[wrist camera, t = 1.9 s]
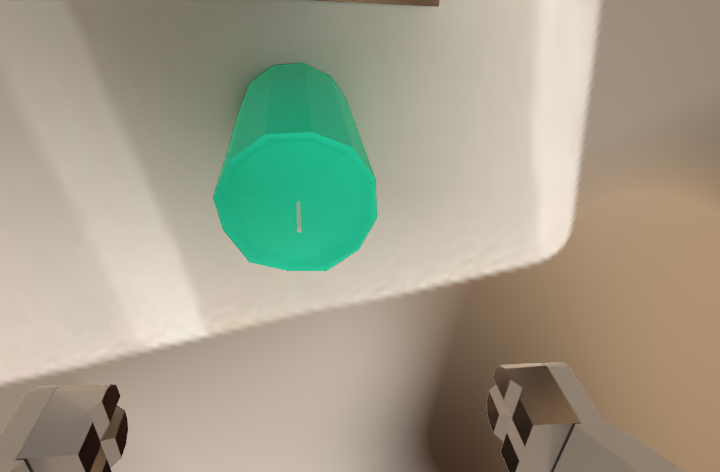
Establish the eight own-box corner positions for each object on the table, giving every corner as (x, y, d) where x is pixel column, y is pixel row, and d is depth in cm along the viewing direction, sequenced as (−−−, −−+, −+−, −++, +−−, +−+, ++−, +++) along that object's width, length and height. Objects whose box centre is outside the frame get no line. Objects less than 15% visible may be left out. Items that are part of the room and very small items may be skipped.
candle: (244, 51, 24) (212, 130, 14) (359, 73, 25) (406, 162, 15) (235, 160, 27) (202, 292, 17) (338, 175, 28) (365, 306, 18)
